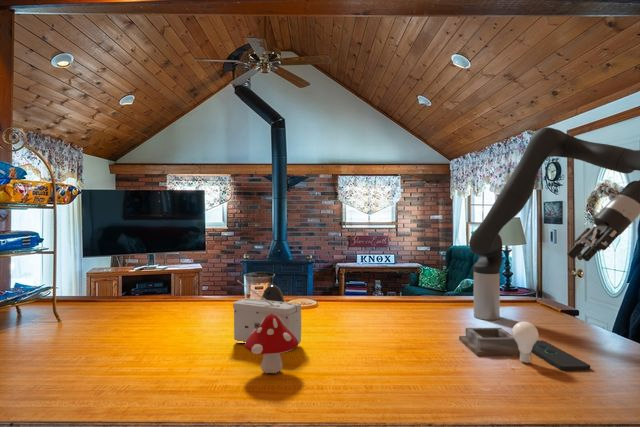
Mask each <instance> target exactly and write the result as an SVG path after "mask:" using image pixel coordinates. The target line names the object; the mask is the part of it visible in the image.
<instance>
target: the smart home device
mask: <svg viewBox="0 0 640 427" xmlns="http://www.w3.org/2000/svg"><path fill="white" fill-rule="evenodd" d="M531 354H533V355H534V356H536V357H538V358H539V359H541V360H543V361H545V363H548V364H549V365H551V366H553V367H554V368H556V369H557V370H559V371H562V372H573V371H575V372H577V371H578V372H580V371H591V365H590V364H589V363H587V362H585V361H583V360H581V359H580V358H578V357H576V356H574V355H572V354H570V353H568V352H566V351H564V350H562V349H561V348H558V347H557V346H554V345H553V344H551V343H550V342H548V341H546V340H537V342H536V343H535V344H534V346H533V348H532V351H531Z"/></svg>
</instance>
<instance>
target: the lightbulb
mask: <svg viewBox="0 0 640 427" xmlns="http://www.w3.org/2000/svg"><path fill="white" fill-rule="evenodd" d="M539 334H540V333H539V331H538V329H537V327H536V326H535V325H534V324H532V323H531V322H529V321H519V322H517V323H515V324H514V326H513V327H512V330H511V335H513V338H514V340H515V341H516V343H517V345H518V349H519V351H520V356H519V360H520V362H522V363H524V364H528V363H530V362H532V361H531V360H532V359H531V357H532V353H531V351H532V348H533V346H534V344H535V343H536V342H537V341H539V340H538V339H539Z"/></svg>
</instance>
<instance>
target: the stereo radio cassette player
mask: <svg viewBox="0 0 640 427" xmlns="http://www.w3.org/2000/svg"><path fill="white" fill-rule="evenodd" d="M237 282H238V283H240V284H241V285H243V286H244V287H245V288H247V289H248V290H249V291H250V292H252V293H253V294H255V295H256V296H257V297H259V299H257V298H249V297H248V298H247V297H245V298H243V299H239V300H236V301H234V302H233V304H232V308H233V336H234V337H233V338H234V341H235V340H237V341H243V342H246V341H247V339H248V338H249V336H250V335H251V333H252V332H253V331H254V330H255V329H257V328H258V327H259V326H260V324H261V322H262V321H263V319H264V318H265V317H266V316H268V315H270V314H273V315H276V316H278V317H280V318H281V320H282V322H283V325H284V326H285V327H286V328H287V329H288V330H289V331H290V332H291V333H292V334H293V335H294V336H295V337H296V338H297V340H298V345H300V344H301V343H302V307H301V304H300V303H297V302H296V303H295V302H294V303H293V302H278V301H268V300H266V299H265V298H263V297H262V296H261V295H260V294H259V293H257V292H256V291H255V290H254V289H252V288H250V287H248V286H247V285H245V284H243V283H242V282H241V281H240V280H239V279H237ZM261 298H262V299H263V300H261Z"/></svg>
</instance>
